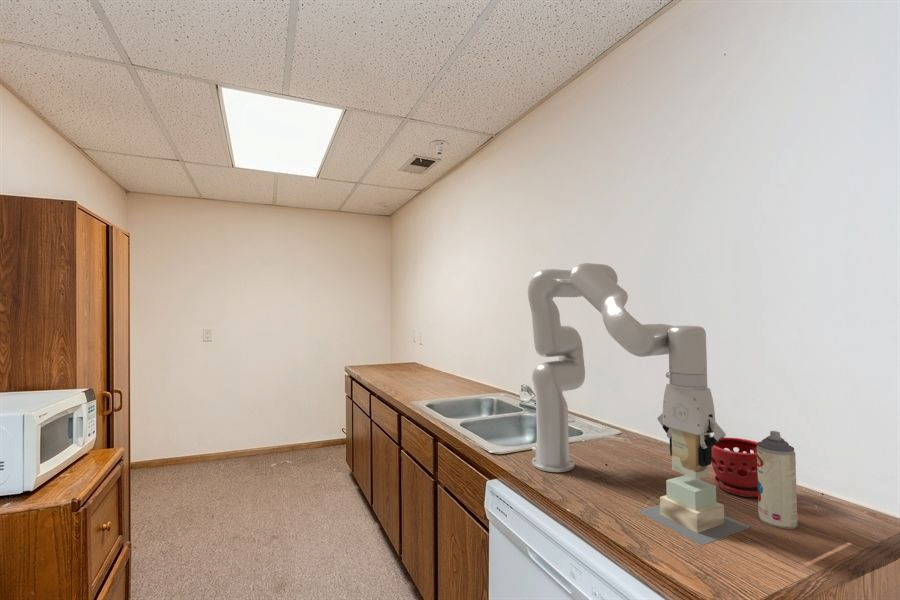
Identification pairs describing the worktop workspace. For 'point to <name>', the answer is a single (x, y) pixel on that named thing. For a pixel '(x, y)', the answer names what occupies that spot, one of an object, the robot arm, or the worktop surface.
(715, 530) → the mat
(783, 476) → the aerosol can
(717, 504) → the base block
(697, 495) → the top block
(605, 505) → the worktop surface
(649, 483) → the worktop surface
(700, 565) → the worktop surface
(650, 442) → the worktop surface
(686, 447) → the skincare box
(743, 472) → the plant pot
